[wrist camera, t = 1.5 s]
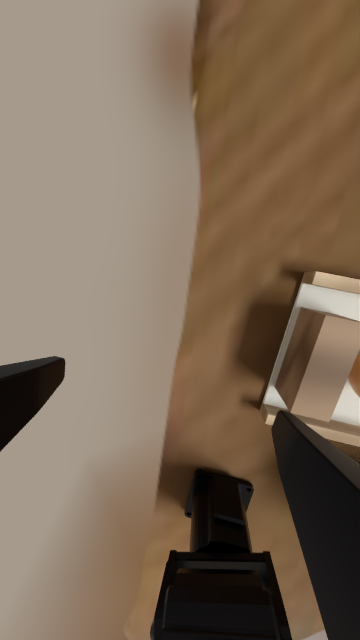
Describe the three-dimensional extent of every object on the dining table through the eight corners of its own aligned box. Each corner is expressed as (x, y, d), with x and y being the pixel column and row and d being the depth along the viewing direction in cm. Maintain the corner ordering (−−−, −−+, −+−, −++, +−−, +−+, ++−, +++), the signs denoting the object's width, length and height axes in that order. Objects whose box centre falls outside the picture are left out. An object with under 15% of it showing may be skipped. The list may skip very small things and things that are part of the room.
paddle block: (305, 394, 21) (329, 422, 17) (274, 386, 21) (290, 412, 17) (335, 313, 19) (370, 324, 15) (300, 306, 19) (325, 315, 15)
